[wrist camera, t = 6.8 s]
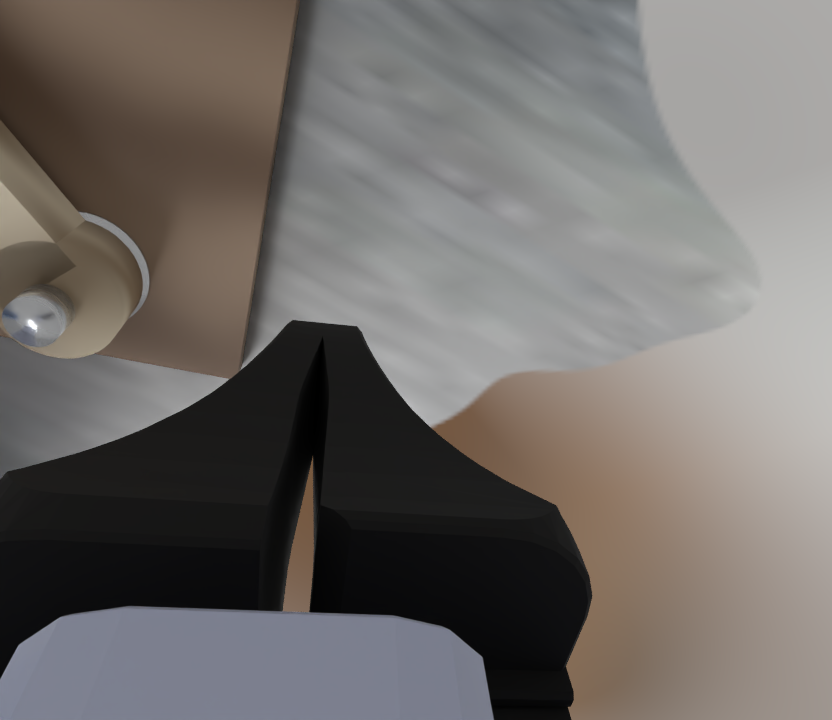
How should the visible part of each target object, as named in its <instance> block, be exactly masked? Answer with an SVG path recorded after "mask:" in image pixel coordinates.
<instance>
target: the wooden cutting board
mask: <svg viewBox="0 0 832 720" xmlns="http://www.w3.org/2000/svg"><path fill="white" fill-rule="evenodd" d="M299 5H300V0H0V120H1V121H2V122H3V123H4V125H5V126H6V127H7V128H8V129H9V131H10V132H11V133H12V134H13V135H14V136H15V138H16V139H17V140H18V141H19V142H20V144H21V145H22V146H23V147H24V148H25V149H26V151H27V152H28V153H29V154H30V155H31V157H32V158H33V159H34V160H35V161H36V163H37V164H38V165H39V166H40V167H41V168H42V170H43V171H44V172H45V173H46V174H47V176H48V177H49V178H50V179H51V180H52V181H53V183H54V184H55V185H56V186H57V187H58V189H59V190H60V191H61V192H62V193H63V194H64V196H65V197H66V198H67V199H68V200H69V202H70V203H71V204H72V205H73V206H74V207H75V209H76V210H77V211H83V212H88V213H92V214H95V215H98V216H101V217H103V218H105V219H107V220H109V221H111V222H113V223H114V224H116V225H117V226H119V227H120V228H122V229H123V230H124V231H125V232H126V233H127V234H128V235H129V236H130V237H131V238H132V239H133V240H134V241H135V242H136V244H137V245H138V246H139V248H140V249H141V251H142V253H143V254H144V257H145V259H146V261H147V264H148V268H149V273H150V288H149V292H148V295H147V298H146V300H145V302H144V304H143V305H142V306H141V308H140V309H139V310H138V311H137V312H136V313H135V314H134V315H133V316H131V317H130V318H128V320H127V321H126V322H125V324H124V325H123V326H122V328H121V329H120V330H119V332H118V333H117V334H116V336H115V337H114V338H113V340H112V341H111V342H110V343H109V344H108V345H107V346H106V347H105V348H103V349H102V350H100V351H99V352H96V353H94V354H99V355H105V356H110V357H115V358H121V359H126V360H131V361H137V362H142V363H148V364H153V365H158V366H164V367H169V368H174V369H180V370H185V371H191V372H196V373H201V374H207V375H212V376H217V377H223V378H228V379H231V378H232V377H233V376H234V375H236V374H237V373H238V372H239V371H240V369H241V366H242V361H243V355H244V349H245V342H246V336H247V330H248V324H249V317H250V311H251V305H252V299H253V292H254V286H255V280H256V274H257V267H258V261H259V255H260V249H261V242H262V236H263V230H264V224H265V217H266V211H267V205H268V199H269V192H270V186H271V180H272V174H273V167H274V161H275V155H276V149H277V142H278V136H279V130H280V124H281V117H282V111H283V105H284V98H285V92H286V86H287V80H288V73H289V67H290V61H291V55H292V48H293V42H294V36H295V30H296V23H297V17H298V11H299ZM0 336H2V337H8V338H11V337H10V336H8V335H7V334H6V333H5V332H4V331H3V330H2V329H1V328H0Z"/></svg>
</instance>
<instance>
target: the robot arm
mask: <svg viewBox="0 0 832 720" xmlns="http://www.w3.org/2000/svg"><path fill="white" fill-rule="evenodd" d="M312 457H313V498H314V499H313V500H314V501H313V503H314V562H313V578H312V589H311V601H310V611H309V612H283V611H282V610H283V602H284V594H285V586H286V578H287V570H288V564H289V559H290V553H291V547H292V543H293V539H294V535H295V530H296V526H297V522H298V517H299V513H300V509H301V505H302V500H303V496H304V492H305V487H306V482H307V479H308V474H309V470H310V465H311V461H312ZM591 599H592V591H591V584H590V578H589V575H588V572H587V569H586V567H585V564H584V562H583V559H582V556H581V554H580V551H579V549H578V547H577V545H576V543H575V541H574V538H573V536H572V534H571V532H570V530H569V528H568V527H567V525H566V523H565V521H564V520H563V518H562V516H561V514H560V512H559V510H558V508H557V506H556V505H554V504H552V503H550V502H548V501H546V500H544V499H542V498H540V497H538V496H536V495H533V494H532V493H529V492H527V491H525V490H523V489H521V488H519V487H517V486H515V485H513V484H511V483H509V482H507V481H506V480H504V479H502V478H500V477H499V476H497V475H495V474H493V473H492V472H490V471H489V470H487V469H485V468H484V467H482V466H480V465H479V464H477V463H476V462H474V461H473V460H471V459H470V458H468V457H467V456H466V455H464V454H463V453H461V452H460V451H459V450H457V449H456V448H455V447H453V446H452V445H451V444H450V443H448V442H447V441H446V440H444V439H443V438H442V437H441V436H440V435H438V434H437V433H436V432H435V431H434V430H433V429H431V428H430V427H429V426H428V425H427V424H426V423H425V422H424V421H423V420H422V419H421V418H420V417H419V416H418V415H417V414H416V413H415V412H414V411H413V410H412V409H411V408H410V407H409V406H408V404H407V403H406V402H405V401H404V399H403V398H402V397H401V396H400V395H399V393H398V392H397V391H396V389H395V388H394V387H393V385H392V384H391V383H390V381H389V380H388V378H387V377H386V375H385V374H384V372H383V371H382V369H381V368H380V366H379V365H378V363H377V361H376V360H375V358H374V356H373V354H372V353H371V351H370V349H369V347H368V345H367V343H366V341H365V339H364V337H363V334H362V332H361V331H360V330H359V328H358V327H357V326H347V325H337V324H327V323H316V322H306V321H296V320H292V321H291V322H290V323H288V324H287V325H286V326H285V327H284V328H283V330H282V331H281V332H280V333H279V334H278V335H277V336H276V337H275V339H274V340H273V341H272V342H271V343H270V344H269V345H268V346H267V347H266V348H265V349H264V350H263V351H262V352H261V353H259V354H258V355H257V356H256V357H255V358H254V359H253V360H252V361H251V362H250V363H249V364H248V365H247V366H245V367H244V368H243V369H242V370H241V371H239V372H238V373H237V374H236V375H234V376H233V377H232V378H231V379H229V380H228V381H227V382H226V383H224V384H223V385H222V386H220V387H219V388H218V389H216V390H215V391H213V392H212V393H211V394H209V395H207V396H206V397H204V398H203V399H201V400H199V401H198V402H196V403H194V404H193V405H191V406H189V407H187V408H186V409H184V410H182V411H180V412H178V413H176V414H174V415H172V416H170V417H167V418H165V419H163V420H161V421H159V422H157V423H155V424H153V425H151V426H149V427H147V428H145V429H142V430H140V431H138V432H135V433H133V434H130V435H128V436H125V437H123V438H120V439H118V440H115V441H112V442H109V443H106V444H103V445H101V446H98V447H95V448H92V449H89V450H86V451H83V452H80V453H76V454H73V455H69V456H66V457H62V458H58V459H55V460H51V461H47V462H43V463H40V464H36V465H32V466H29V467H25V468H21V469H17V470H12V471H8V472H7V473H6V474H5V475H4V476H3V477H2V478H1V479H0V720H571V717H570V713H569V710H568V707H570V706H571V705H572V703H573V700H574V697H573V696H574V695H573V688H572V685H571V682H570V679H569V675H568V672H567V669H566V664H567V662H568V660H569V658H570V655H571V653H572V651H573V648H574V646H575V644H576V641H577V639H578V637H579V634H580V632H581V630H582V627H583V625H584V623H585V621H586V618H587V615H588V612H589V607H590V603H591Z"/></svg>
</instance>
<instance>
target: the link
mask: <svg viewBox="0 0 832 720" xmlns="http://www.w3.org/2000/svg"><path fill="white" fill-rule="evenodd" d="M34 284H49V285H52V286H55V287H57V288H59V289H61V290H62V291H64V292H65V293H66V294H67V295H68V296H69V297H70V299H71V300H72V302H73V304H74V306H75V312H76V313H75V318H74V320H73V322H72V323H71V324H70V326H69V327H68V328H67V329H66V330H65V331H64V332H63V333H62V334H61V335H60V336H59V338H58V339H57V340H56V341H55V342H54V343H52V344H50V345H48V346H45V347H32V346H28V345H25V344H22V343H20V342H19V341H17V340H15V339H14V338H13V337H12V336H11V335H10V334H9V333H8V332H7V331H6V329H5V327H4V325H3V322H2V313H3V310H4V308H5V307H6V306H7V305H8V304H9V303H10V302H11V301H12V300H13V299H15V298H16V297H17V296H18V295H19V294H20V293H22V292H23V291H24V290H25V289H26V288H28V287H29V286H31V285H34ZM142 291H143V279H142V274H141V270H140V267H139V265H138V262H137V260H136V258H135V257H134V255H133V253H132V252H131V251H130V249H129V248H128V247H127V246H126V245H125V244H124V243H123V241H121V240H120V239H119V238H118V237H117V236H116V235H114V234H113V233H111V232H110V231H109V230H107V229H105V228H103V227H101V226H99V225H97V224H95V223H92V222H89V221H86V220H85V219H84V218H83V217H82V216H81V215H80V213H79V212H78V211H77V210H76V209H75V207H74V206H73V205H72V204H71V203H70V202H69V200H68V199H67V198H66V197H65V196H64V194H63V193H62V192H61V191H60V190H59V189H58V187H57V186H56V185H55V184H54V183H53V181H52V180H51V179H50V178H49V177H48V176H47V174H46V173H45V172H44V171H43V170H42V168H41V167H40V166H39V165H38V164H37V163H36V161H35V160H34V159H33V158H32V157H31V155H30V154H29V153H28V152H27V151H26V149H25V148H24V147H23V146H22V145H21V144H20V142H19V141H18V140H17V139H16V138H15V136H14V135H13V134H12V133H11V132H10V131H9V129H8V128H7V127H6V126H5V125H4V123H3V122H2V121H1V120H0V328H1V329H2V330H3V331H4V332H5V333H6V334H7V335H8V336H10V337H11V338H12V339H13V340H15V341H16V342H18V343H19V344H21V345H23V346H24V347H26V348H28V349H30V350H32V351H34V352H37V353H40V354H43V355H46V356H50V357H56V358H66V359H71V358H81V357H86V356H89V355H92V354H94V353H96V352H99V351H100V350H102V349H103V348H105V347H106V346H107V345H108V344H109V343H110V342H111V341H112V340H113V338H114V337H115V336H116V334H117V333H118V332H119V330H120V329H121V328H122V326H123V325H124V324H125V322H126V321H127V320H128V318H129V317H130V316H131V314H132V313H133V312H134V310H135V309H136V308H137V306H138V304H139V302H140V299H141V296H142Z"/></svg>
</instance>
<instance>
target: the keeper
mask: <svg viewBox="0 0 832 720" xmlns="http://www.w3.org/2000/svg"><path fill="white" fill-rule="evenodd" d="M78 212H79V213H80V215H81V216H82V217H83V218H84V219H85V220H86V221H89V222H92V223H95V224H97V225H99V226H101V227H103V228H105V229H107V230H109V231H110V232H111V233H113V234H114V235H116V236H117V237H118V238H119V239H120V240H121V241H123V243H124V244H125V245H126V246H127V247H128V248H129V249H130V251H131V252H132V253H133V255H134V257H135V258H136V260H137V262H138V265H139V267H140V270H141V274H142V279H143V291H142V296H141V299H140V302H139V304H138V306H137V308H136V309H135V310H134V312H133V313H132V314H131V316H133V315H134V314H135V313H136V312H137V311H138V310H139V309H140V308H141V306H142V305H143V304H144V302H145V300H146V298H147V295H148V292H149V288H150V273H149V268H148V264H147V261H146V259H145V257H144V254H143V253H142V251H141V249H140V248H139V246H138V245H137V244H136V242H135V241H134V240H133V239H132V238H131V237H130V236H129V235H128V234H127V233H126V232H125V231H124V230H123V229H122V228H120V227H119V226H117V225H116V224H114V223H113V222H111V221H109V220H107V219H105V218H103V217H101V216H98V215H95V214H92V213H88V212H83V211H78ZM75 313H76V312H75V306H74V304H73V302H72V300H71V299H70V297H69V296H68V295H67V294H66V293H65V292H64V291H62V290H61V289H59V288H57V287H55V286H52V285H49V284H34V285H31V286H29V287H28V288H26V289H25V290H24V291H23V292H22V293H20V294H19V295H18V296H17V297H16V298H15V299H13V300H12V301H11V302H10V303H9V304H8V305H7V306H6V307H5V308H4V310H3V313H2V322H3V325H4V327H5V329H6V331H7V332H8V333H9V334H10V335H11V336H12V337H13V338H14V339H15V340H17V341H19V342H20V343H22V344H25V345H28V346H32V347H45V346H48V345H50V344H52V343H54V342H55V341H56V340H57V339H58V338H59V336H60V335H61V334H62V333H63V332H64V331H65V330H66V329H67V328H68V327H69V326H70V324H71V323H72V322H73V320H74V318H75ZM131 316H130V317H131ZM130 317H129V318H130Z"/></svg>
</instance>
